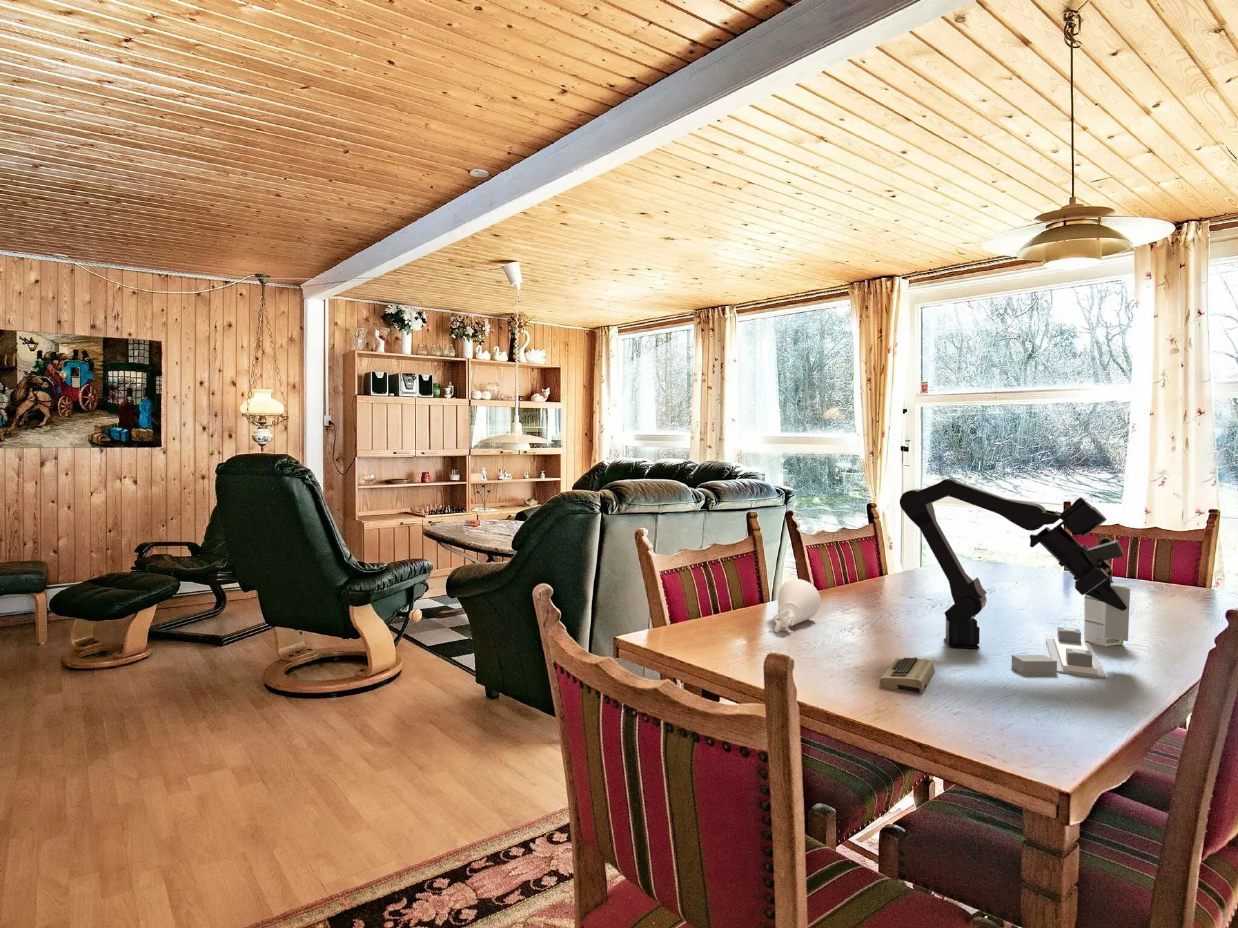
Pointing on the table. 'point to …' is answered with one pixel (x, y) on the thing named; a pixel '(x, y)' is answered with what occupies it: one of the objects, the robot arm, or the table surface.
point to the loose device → (1034, 664)
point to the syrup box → (1096, 622)
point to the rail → (1059, 654)
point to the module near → (1078, 657)
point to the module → (1118, 615)
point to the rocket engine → (796, 603)
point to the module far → (1069, 635)
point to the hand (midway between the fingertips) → (1125, 607)
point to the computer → (908, 674)
